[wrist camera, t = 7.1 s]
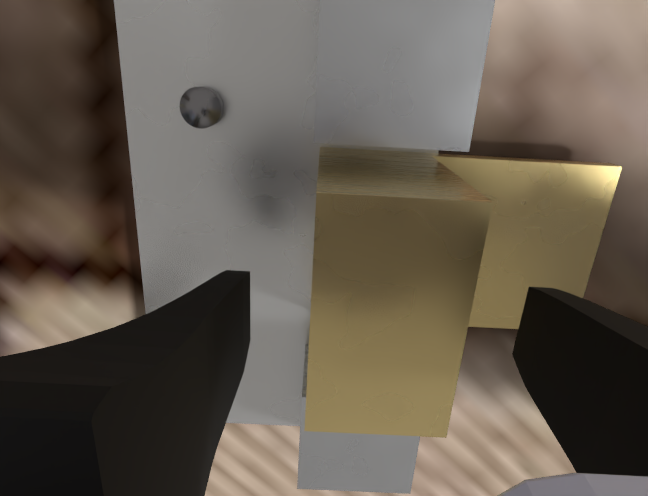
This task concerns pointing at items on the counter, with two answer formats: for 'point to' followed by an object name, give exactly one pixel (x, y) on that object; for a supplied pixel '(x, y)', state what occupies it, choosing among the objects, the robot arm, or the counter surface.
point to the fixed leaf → (283, 165)
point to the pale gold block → (433, 272)
